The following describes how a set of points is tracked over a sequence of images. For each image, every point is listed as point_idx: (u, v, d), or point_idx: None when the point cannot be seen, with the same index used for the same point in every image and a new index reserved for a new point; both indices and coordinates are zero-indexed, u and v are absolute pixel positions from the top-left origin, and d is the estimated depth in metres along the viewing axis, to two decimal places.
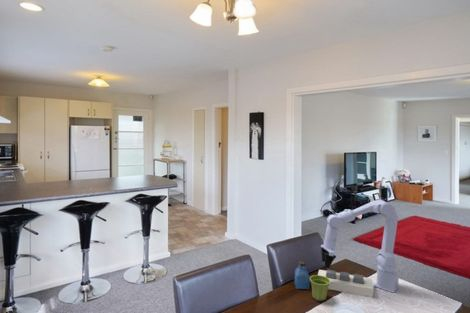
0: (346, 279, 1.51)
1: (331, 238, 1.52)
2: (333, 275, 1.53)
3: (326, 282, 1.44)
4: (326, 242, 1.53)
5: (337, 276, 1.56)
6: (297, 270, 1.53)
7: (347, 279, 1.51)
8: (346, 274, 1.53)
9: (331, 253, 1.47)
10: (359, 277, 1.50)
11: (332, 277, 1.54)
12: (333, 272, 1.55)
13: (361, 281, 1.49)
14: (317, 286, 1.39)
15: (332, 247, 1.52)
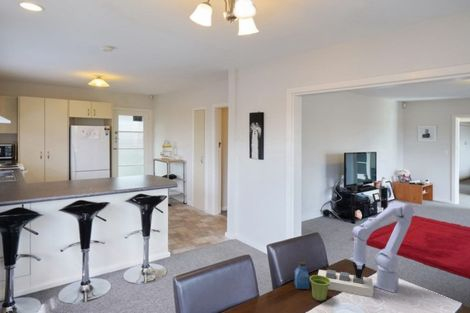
0: (346, 279, 1.51)
1: (362, 251, 1.48)
2: (333, 275, 1.53)
3: (326, 282, 1.44)
4: (355, 255, 1.50)
5: (337, 276, 1.56)
6: (297, 270, 1.53)
7: (347, 279, 1.51)
8: (346, 274, 1.53)
9: (359, 266, 1.44)
10: (359, 278, 1.50)
11: (332, 277, 1.54)
12: (333, 272, 1.55)
13: (361, 282, 1.49)
14: (317, 286, 1.39)
15: (361, 259, 1.48)
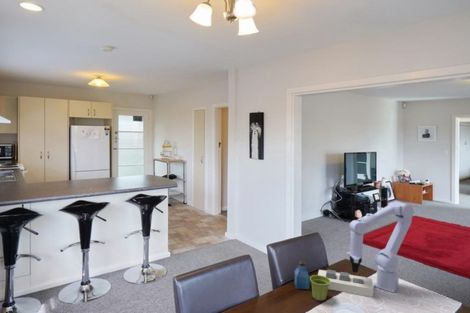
0: (346, 279, 1.51)
1: (358, 245, 1.48)
2: (333, 275, 1.53)
3: (326, 282, 1.44)
4: (351, 249, 1.50)
5: (337, 276, 1.56)
6: (297, 270, 1.53)
7: (347, 279, 1.51)
8: (346, 274, 1.53)
9: (355, 260, 1.44)
10: (359, 281, 1.50)
11: (332, 277, 1.54)
12: (333, 272, 1.55)
13: None
14: (317, 286, 1.39)
15: (358, 254, 1.48)
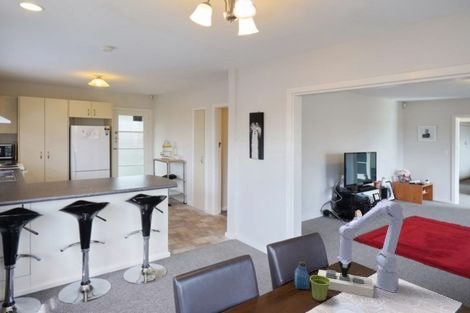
0: None
1: (347, 250, 1.50)
2: (333, 275, 1.53)
3: (326, 282, 1.44)
4: (341, 254, 1.52)
5: (337, 276, 1.56)
6: (297, 270, 1.53)
7: None
8: None
9: (344, 265, 1.46)
10: (359, 281, 1.50)
11: (332, 277, 1.54)
12: (333, 272, 1.55)
13: None
14: (317, 286, 1.39)
15: (347, 258, 1.50)
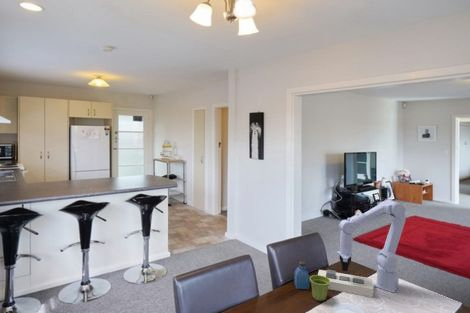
0: None
1: (347, 244, 1.50)
2: (333, 275, 1.53)
3: (326, 282, 1.44)
4: (341, 248, 1.52)
5: (337, 276, 1.56)
6: (297, 270, 1.53)
7: None
8: (346, 278, 1.53)
9: (344, 259, 1.46)
10: (359, 281, 1.50)
11: (332, 277, 1.54)
12: (333, 272, 1.55)
13: None
14: (317, 286, 1.39)
15: (347, 253, 1.50)
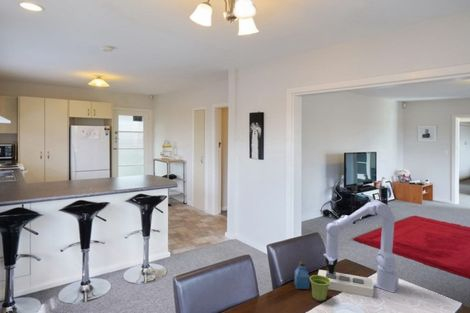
0: None
1: (332, 247, 1.52)
2: (333, 276, 1.53)
3: (326, 282, 1.44)
4: (327, 251, 1.54)
5: (337, 276, 1.56)
6: (297, 270, 1.53)
7: None
8: (346, 278, 1.53)
9: (330, 261, 1.49)
10: (359, 281, 1.50)
11: (332, 278, 1.54)
12: (333, 273, 1.55)
13: None
14: (317, 286, 1.39)
15: (333, 255, 1.52)
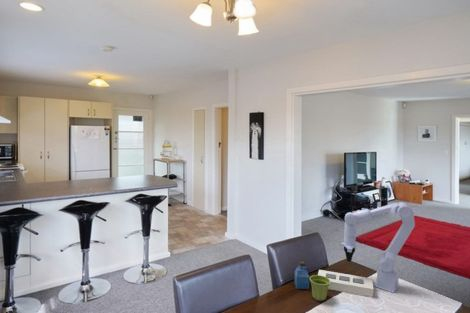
0: None
1: (348, 235, 1.57)
2: None
3: (326, 282, 1.44)
4: (345, 239, 1.59)
5: (337, 276, 1.56)
6: (297, 270, 1.53)
7: None
8: (346, 278, 1.53)
9: (349, 249, 1.53)
10: (359, 281, 1.50)
11: None
12: (333, 276, 1.55)
13: None
14: (317, 286, 1.39)
15: (351, 244, 1.57)
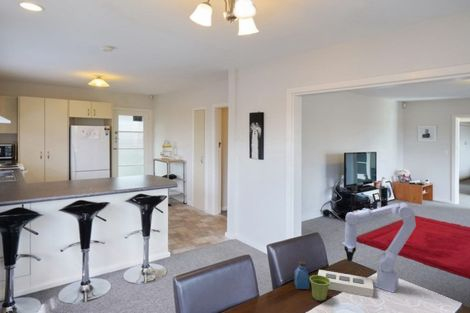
0: None
1: (349, 234, 1.58)
2: None
3: (326, 282, 1.44)
4: (346, 239, 1.59)
5: (337, 276, 1.56)
6: (297, 270, 1.53)
7: None
8: (346, 278, 1.53)
9: (349, 249, 1.54)
10: (359, 281, 1.50)
11: None
12: (333, 276, 1.55)
13: None
14: (317, 286, 1.39)
15: (352, 243, 1.57)
